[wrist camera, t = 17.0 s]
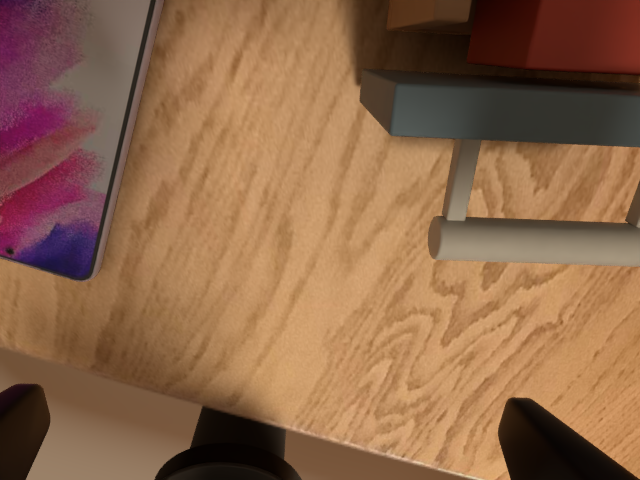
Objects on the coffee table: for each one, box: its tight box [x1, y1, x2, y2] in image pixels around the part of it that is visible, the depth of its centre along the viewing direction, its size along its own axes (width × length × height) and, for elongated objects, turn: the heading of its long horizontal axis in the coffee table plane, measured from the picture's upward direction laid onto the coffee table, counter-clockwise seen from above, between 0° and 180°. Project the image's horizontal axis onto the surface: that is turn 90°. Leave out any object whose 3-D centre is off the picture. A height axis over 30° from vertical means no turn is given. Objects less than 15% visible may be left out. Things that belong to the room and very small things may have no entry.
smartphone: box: [0, 0, 164, 282], centre depth 16 cm, size 7×1×15 cm
